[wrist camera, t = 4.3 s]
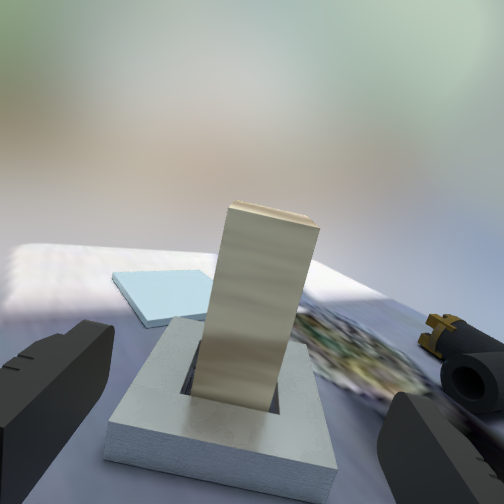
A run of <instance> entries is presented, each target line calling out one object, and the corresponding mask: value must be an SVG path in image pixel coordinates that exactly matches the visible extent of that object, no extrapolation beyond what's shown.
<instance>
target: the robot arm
mask: <svg viewBox="0 0 504 504" xmlns="http://www.w3.org/2000/svg"><path fill="white" fill-rule="evenodd" d="M114 334H115V330H114V327H113V326H112V325H108V324H103V323H99V322H94V321H90V320H83V321H81V322H80V323H79V324H77V325H76V326H75V327H74V328H72V329H71V330H70V331H69V332H67V333H66V334H65V335H63V334H58V333H57V334H54V335H52V336H49V337H47V338H44V339H41V340H39V341H36V342H34V343H33V344H32V345H30V346H29V347H27V348H26V349H25V350H23V351H22V352H21V353H19V354H18V356H17V357H14V358H12V359H11V360H9V361H8V362H7V363H5V364H4V365H3V366H2V368H1V369H0V504H22V502H23V501H24V500H25V498H26V497H27V496H28V494H29V493H30V492H31V490H32V489H33V488H34V486H35V485H36V483H37V482H38V481H39V479H40V478H41V477H42V475H43V474H44V473H45V471H46V470H47V469H48V467H49V466H50V465H51V463H52V462H53V461H54V459H55V458H56V456H57V455H58V454H59V452H60V451H61V450H62V448H63V447H64V446H65V444H66V443H67V442H68V440H69V439H70V438H71V436H72V435H73V433H74V432H75V431H76V429H77V428H78V427H79V425H80V424H81V423H82V421H83V420H84V419H85V417H86V416H87V415H88V413H89V412H90V411H91V409H92V408H93V406H94V405H95V404H96V402H97V401H98V400H99V398H100V397H101V395H102V393H103V391H104V389H105V386H106V383H107V380H108V377H109V371H110V363H111V356H112V349H113V342H114ZM377 454H378V459H379V462H380V465H381V467H382V470H383V472H384V475H385V477H386V479H387V482H388V484H389V487H390V489H391V491H392V494H393V496H394V499H395V501H396V504H504V484H503V483H502V482H501V480H498V479H497V475H496V474H495V473H494V471H493V470H492V469H491V468H490V466H489V465H488V464H487V463H485V462H484V461H483V460H484V459H483V457H482V456H481V455H480V454H479V452H478V451H477V450H476V449H475V447H474V446H473V445H472V444H471V442H470V441H469V440H468V439H467V438H466V437H465V436H464V435H463V434H461V433H460V432H459V431H458V430H457V429H456V428H455V427H454V426H452V425H451V424H450V423H449V422H448V421H447V419H446V418H445V417H444V416H443V414H442V413H441V412H440V410H439V409H438V408H437V406H436V405H435V404H434V402H433V401H432V400H431V399H429V398H427V397H423V396H419V395H414V394H410V393H405V392H398V393H397V394H396V395H395V396H394V398H393V400H392V403H391V405H390V408H389V410H388V413H387V415H386V418H385V420H384V423H383V425H382V428H381V430H380V433H379V436H378V440H377Z"/></svg>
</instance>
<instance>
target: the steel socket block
mask: <svg viewBox="0 0 504 504" xmlns="http://www.w3.org/2000/svg"><path fill="white" fill-rule="evenodd" d="M204 325H205V322H201V321H196V320H191V319H187V318H182V317H178V316H174V317H173V319H172V320H171V322H170V324H169V325H168V327H167V328H166V330H165V332H164V333H163V335H162V336H161V338H160V339H159V341H158V343H157V344H156V346H155V347H154V349H153V351H152V352H151V354H150V355H149V357H148V359H147V360H146V362H145V363H144V365H143V367H142V368H141V370H140V371H139V373H138V375H137V376H136V378H135V379H134V381H133V382H132V384H131V386H130V387H129V389H128V390H127V392H126V394H125V395H124V397H123V398H122V400H121V402H120V403H119V405H118V406H117V408H116V410H115V411H114V413H113V414H112V416H111V417H110V419H109V421H108V427H107V435H106V443H105V451H104V460H108V461H113V462H118V463H123V464H128V465H132V466H137V467H142V468H147V469H152V470H156V471H161V472H166V473H171V474H176V475H181V476H185V477H190V478H195V479H200V480H205V481H209V482H214V483H219V484H224V485H229V486H233V487H238V488H243V489H248V490H253V491H257V492H262V493H267V494H272V495H277V496H281V497H286V498H291V499H296V500H301V501H305V502H310V503H315V504H325V503H326V500H327V498H328V495H329V492H330V489H331V487H332V484H333V481H334V479H335V476H336V473H337V471H338V468H337V464H336V460H335V456H334V452H333V448H332V444H331V440H330V436H329V432H328V429H327V425H326V421H325V417H324V413H323V409H322V405H321V401H320V397H319V393H318V389H317V385H316V381H315V377H314V374H313V370H312V366H311V362H310V358H309V354H308V350H307V346H306V344H301V343H297V342H292V341H288V344H287V348H286V351H285V355H284V358H283V362H282V365H281V369H280V372H279V376H278V380H277V383H276V387H275V390H274V394H273V397H272V401H271V404H270V408H269V413H268V412H264V411H259V410H254V409H250V408H245V407H240V406H235V405H231V404H226V403H221V402H217V401H212V400H207V399H203V398H198V397H193V396H189V395H185V392H186V389H187V386H188V384H189V381H190V378H191V375H192V372H193V370H194V367H196V364H197V359H198V354H199V349H200V344H201V339H202V334H203V330H204Z"/></svg>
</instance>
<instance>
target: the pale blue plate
mask: <svg viewBox="0 0 504 504" xmlns="http://www.w3.org/2000/svg"><path fill="white" fill-rule="evenodd" d="M112 279H113V280H114V282H115V283H116V285H117V286H118V288H119V289H120V291H121V292H122V293H123V295H124V296H125V298H126V299H127V301H128V302H129V304H130V305H131V306H132V308H133V309H134V311H135V312H136V314H137V315H138V317H139V318H140V320H141V321H142V322H143V324H144V325H145V327H146V328H151V327H158V326H165V325H169V324H170V322H171V320H172V319H173V317H174V316H178V317H182V318H187V319H191V320H196V321H198V320H205V319H206V315H207V310H208V305H209V300H210V295H211V290H212V285H213V280H212V279H211V278H209V277H208V276H207V275H205V274H204V273H203V272H202V271H200V270H176V271H142V272H113V275H112Z"/></svg>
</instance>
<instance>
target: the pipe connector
mask: <svg viewBox="0 0 504 504" xmlns="http://www.w3.org/2000/svg"><path fill="white" fill-rule="evenodd" d="M425 324H427V325H428V326H430V327H432V328H433V329H434V330H433V332H432V334H429V333H421V335H420V338H419V340H418V343H419V344H420V345H422V346H423V347H425V348H426V349H428V350H429V351H430V352H432V353H433V354H435V355H436V356H438V357H439V358H440V359H442V358H443V359H444V360H445V361H444V363H443V365H442V367H441V372H440V378H441V383H442V386H443V389H444V391H445V393H446V394H447V395H448V396H450V397H451V398H452V399H453V400H455V401H456V402H457V403H459V404H460V405H461V406H462V407H464V408H465V409H466V410H468V411H469V412H470V413H474V414H483V413H488V412H493V411H498V410H502V409H504V344H503V343H501V342H499V341H498V340H496V339H494V338H492V337H490V336H488V335H487V334H485V333H483V332H481V331H479V330H478V329H476V328H474V327H473V326H471V325H469V324H467V323H466V322H465V321H464V320H462V319H460V318H458V317H457V316H452V315H451V314H444V315H443V317H441V316H439V315H437V314H429V316H428V319H427V321H426V323H425Z"/></svg>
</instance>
